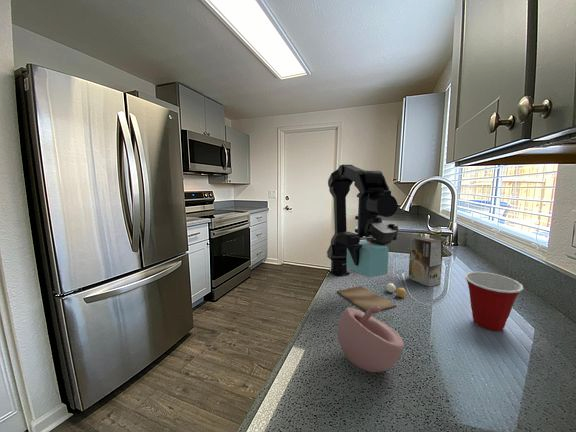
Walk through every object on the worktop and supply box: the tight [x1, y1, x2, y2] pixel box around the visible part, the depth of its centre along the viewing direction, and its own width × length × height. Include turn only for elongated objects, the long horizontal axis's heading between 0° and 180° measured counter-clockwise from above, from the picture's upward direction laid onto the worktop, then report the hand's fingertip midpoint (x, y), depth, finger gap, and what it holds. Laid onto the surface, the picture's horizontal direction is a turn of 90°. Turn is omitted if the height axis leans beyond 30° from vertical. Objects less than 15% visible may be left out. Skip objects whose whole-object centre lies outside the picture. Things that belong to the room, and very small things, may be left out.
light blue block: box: [346, 240, 390, 278], centre depth 71 cm, size 10×7×8 cm
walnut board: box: [336, 285, 397, 312], centre depth 72 cm, size 15×10×1 cm, turn 24°
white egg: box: [385, 282, 397, 293], centre depth 77 cm, size 3×3×3 cm
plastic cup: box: [464, 271, 524, 332], centre depth 58 cm, size 11×11×12 cm
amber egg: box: [395, 287, 407, 298], centre depth 74 cm, size 3×3×3 cm
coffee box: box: [408, 236, 444, 287], centre depth 86 cm, size 9×6×16 cm
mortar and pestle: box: [337, 306, 405, 373], centre depth 45 cm, size 12×12×11 cm
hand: (366, 263), depth 71 cm, fingers closed on light blue block, 7 cm apart
